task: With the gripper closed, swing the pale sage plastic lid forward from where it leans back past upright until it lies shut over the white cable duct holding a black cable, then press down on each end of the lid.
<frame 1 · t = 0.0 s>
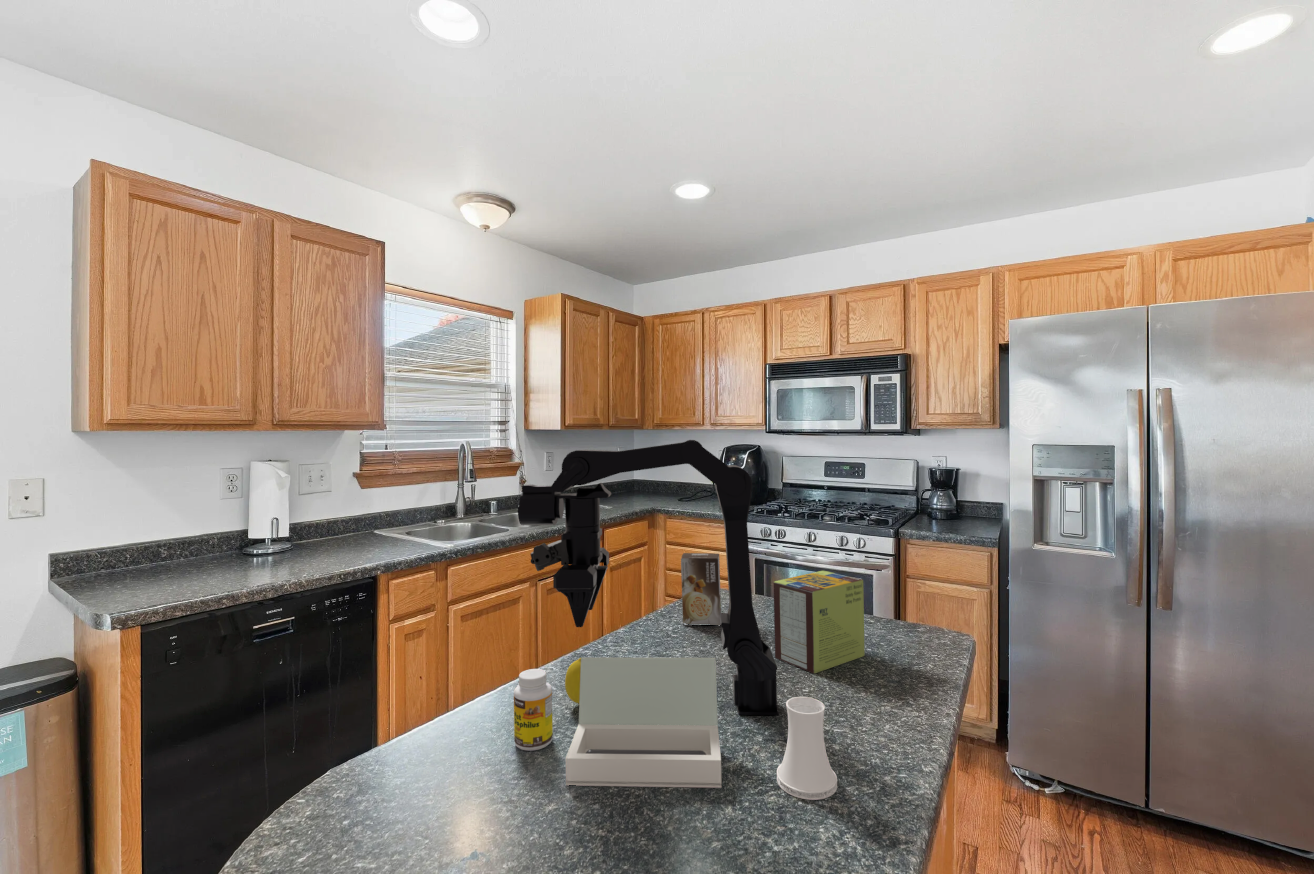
hand: (584, 617, 99), 15 cm above the countertop, tool pointing down, fingers open, 9 cm apart
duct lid: (648, 690, 87), point 8 cm above the countertop, hinge at 108.0°
cable duct: (645, 766, 80), on the countertop
supplement bottle: (533, 744, 87), on the countertop
lemon: (582, 706, 99), on the countertop
coffee box: (702, 622, 142), on the countertop
vase: (806, 783, 76), on the countertop
protein box: (819, 658, 118), on the countertop
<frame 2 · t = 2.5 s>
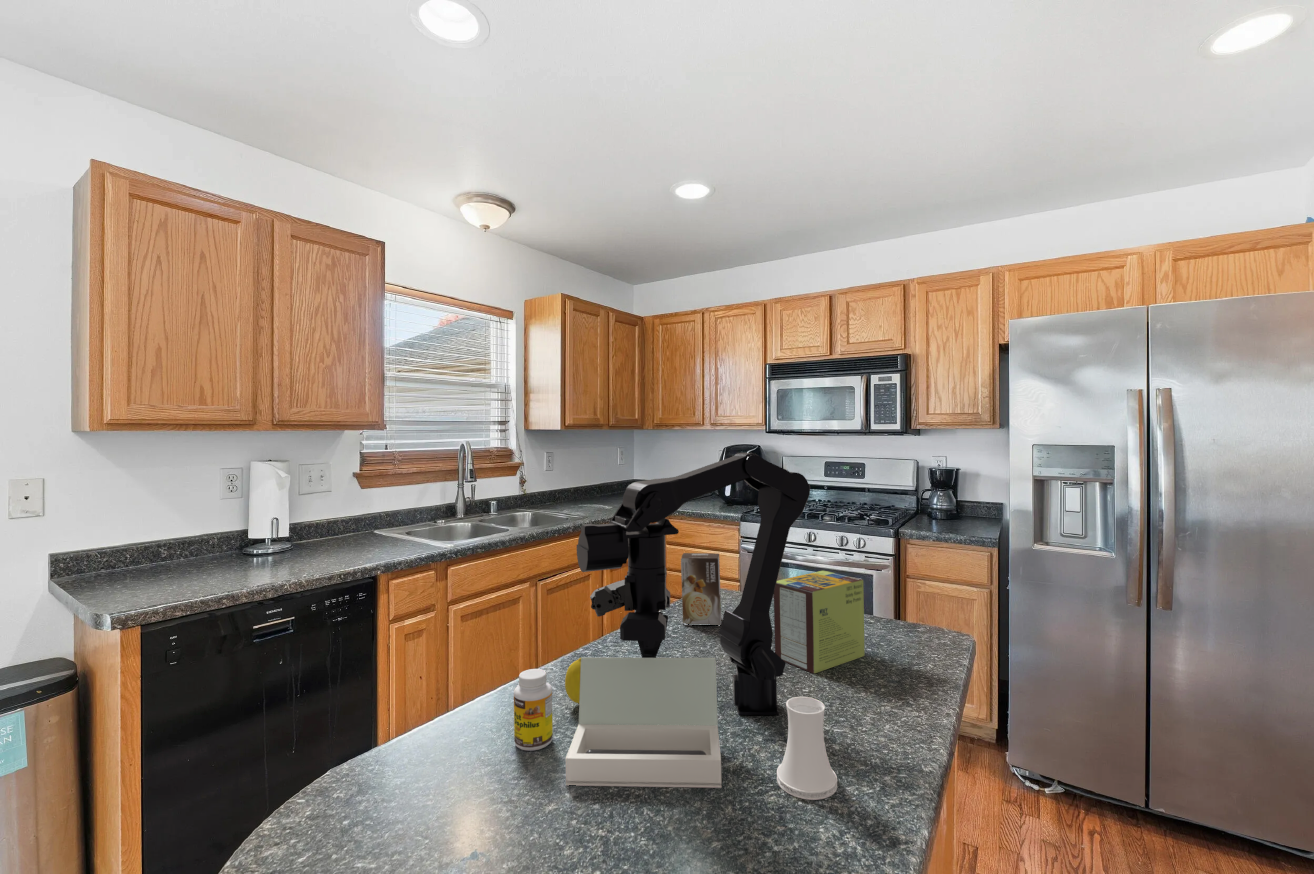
hand: (648, 667, 90), 10 cm above the countertop, tool pointing down, fingers closed
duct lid: (648, 690, 87), point 8 cm above the countertop, hinge at 108.0°, touching gripper
everything else where it was.
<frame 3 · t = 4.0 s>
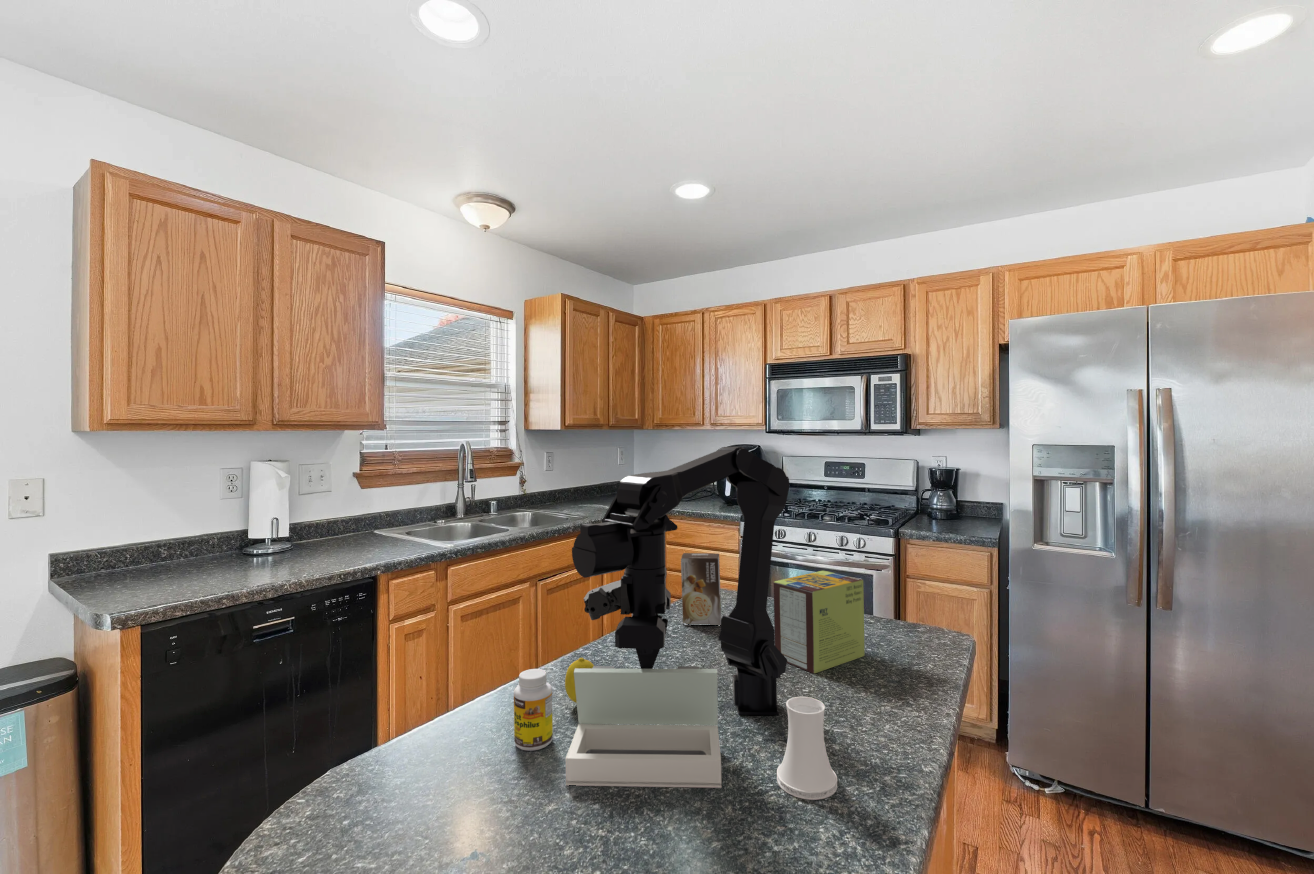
hand: (646, 674, 83), 11 cm above the countertop, tool pointing down, fingers closed, pressing on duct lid
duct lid: (646, 695, 84), point 8 cm above the countertop, hinge at 71.9°, touching gripper
everything else where it was.
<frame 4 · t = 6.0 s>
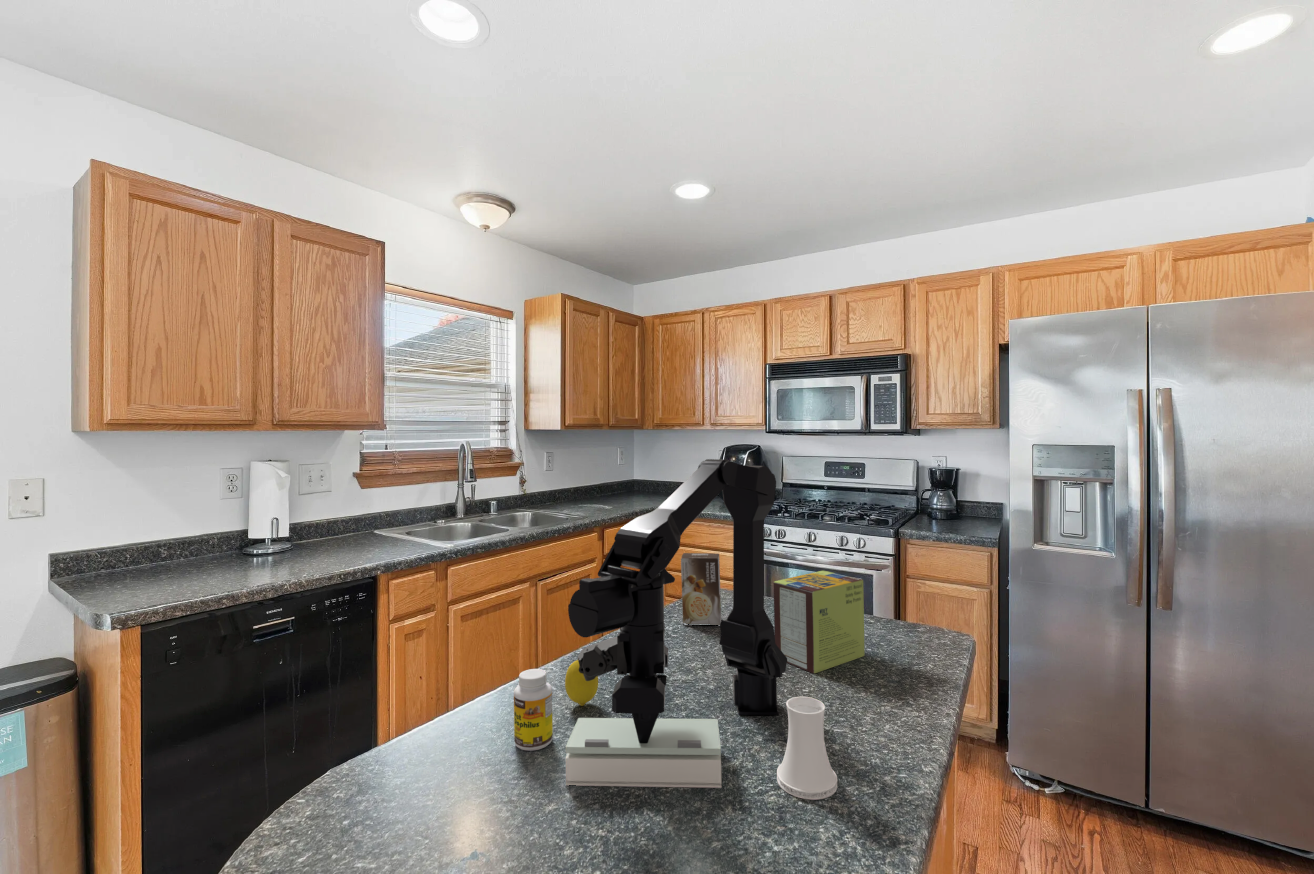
hand: (643, 739, 78), 5 cm above the countertop, tool pointing down, fingers closed on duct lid
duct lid: (645, 732, 80), point 5 cm above the countertop, hinge at 3.5°, touching gripper
everything else where it was.
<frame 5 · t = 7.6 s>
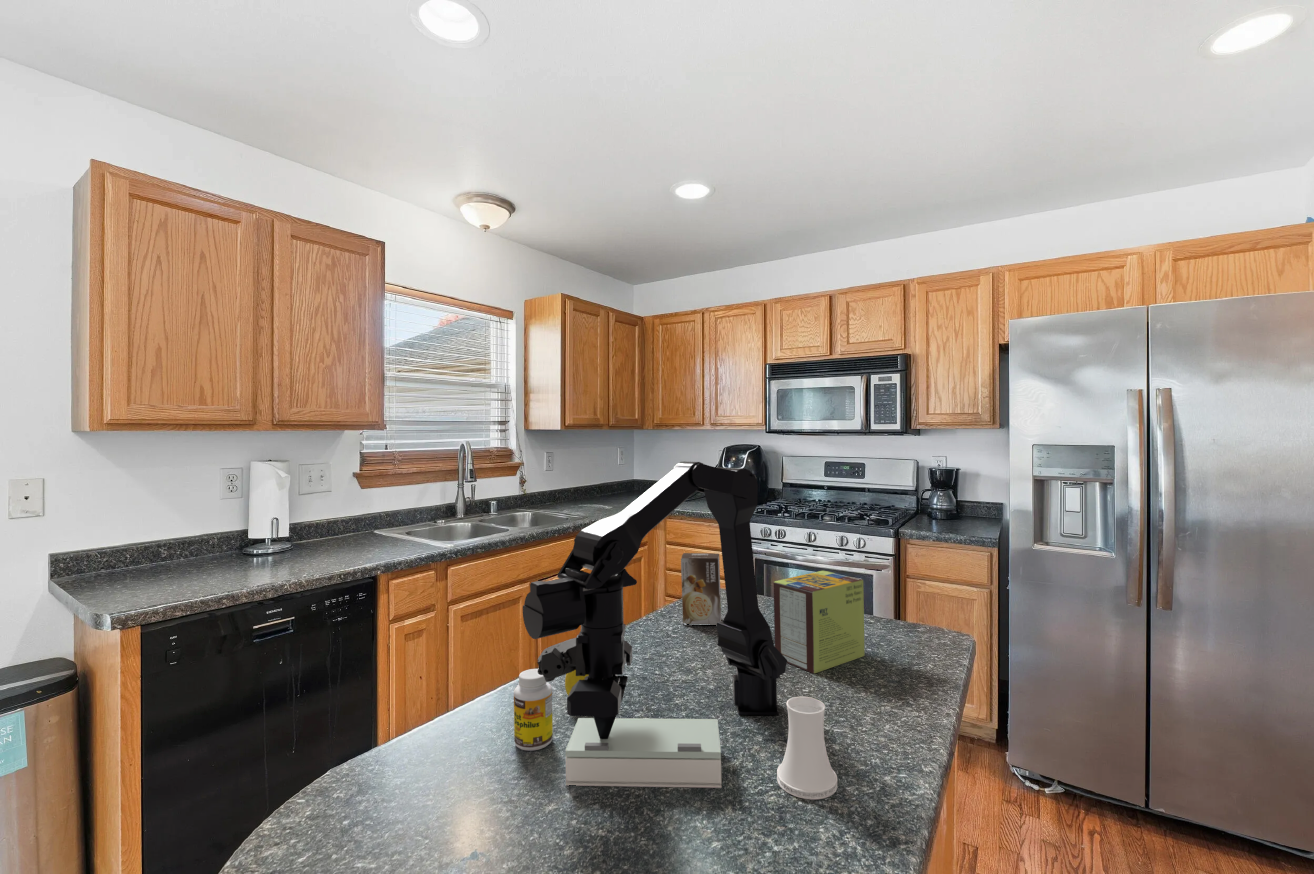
hand: (604, 737, 79), 4 cm above the countertop, tool pointing down, fingers closed, pressing on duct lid
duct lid: (645, 734, 80), point 4 cm above the countertop, hinge at 0.7°, touching gripper
everything else where it was.
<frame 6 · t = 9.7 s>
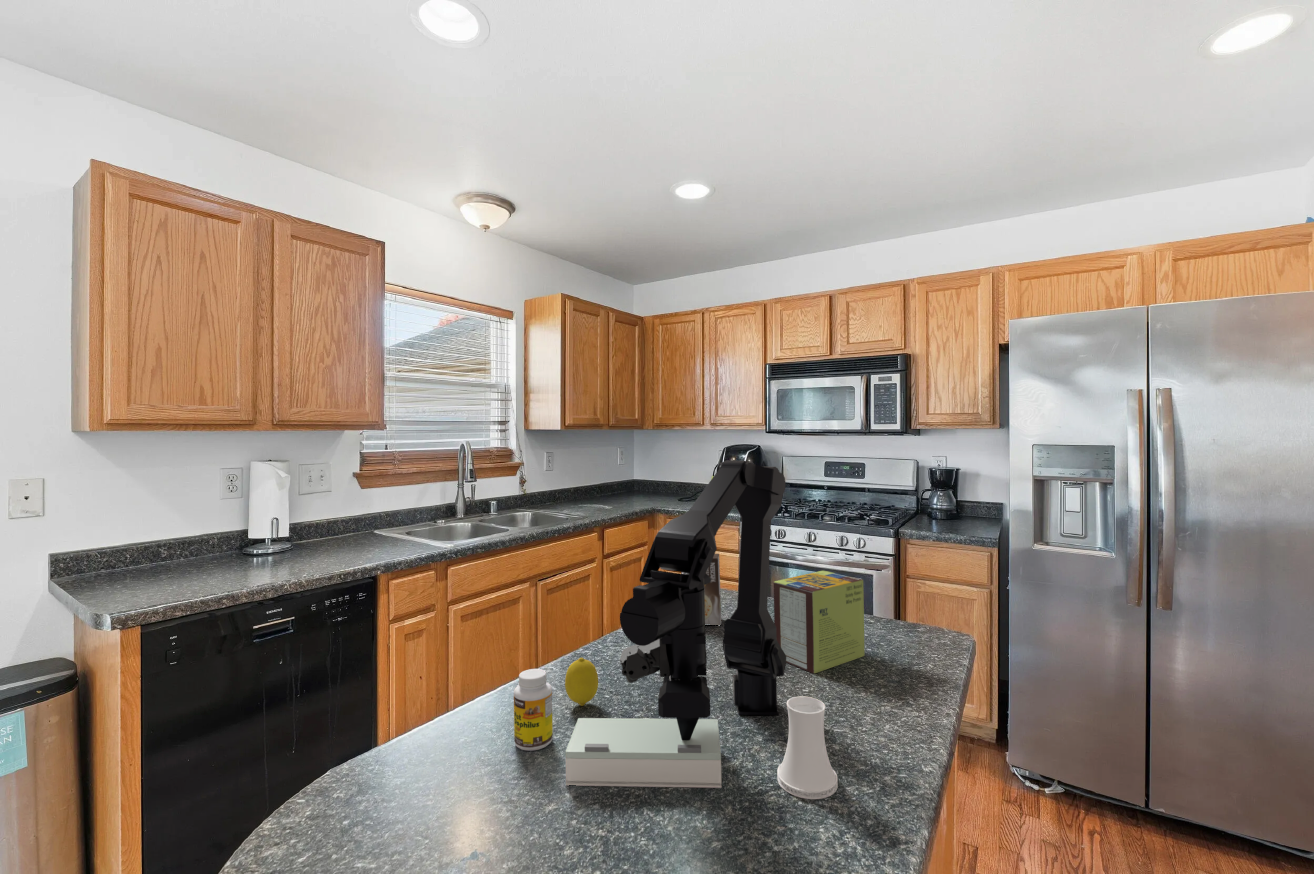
hand: (685, 739, 79), 4 cm above the countertop, tool pointing down, fingers closed, pressing on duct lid
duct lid: (645, 735, 80), point 4 cm above the countertop, hinge at -0.3°, touching gripper
everything else where it was.
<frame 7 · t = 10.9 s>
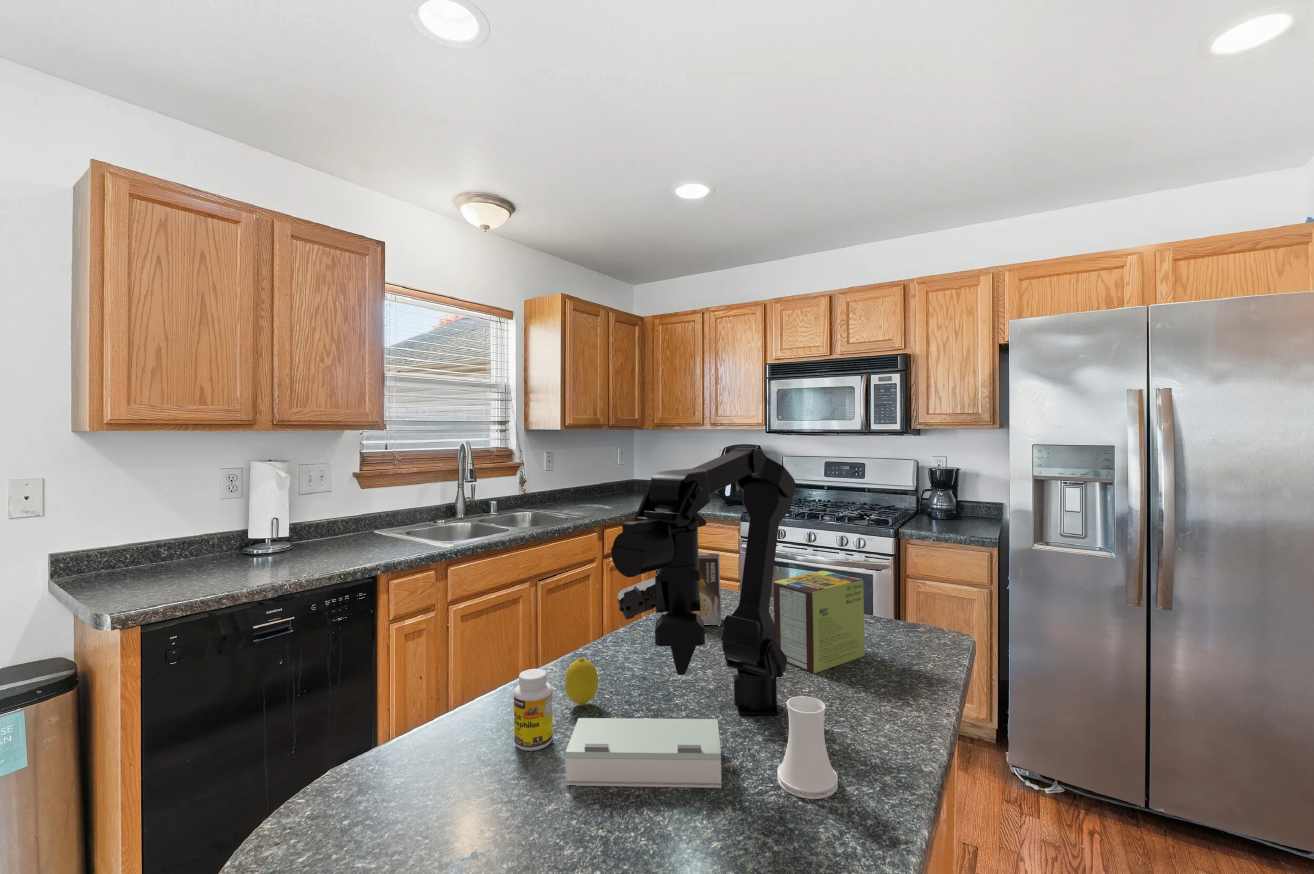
hand: (681, 673, 82), 12 cm above the countertop, tool pointing down, fingers closed
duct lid: (645, 735, 80), point 4 cm above the countertop, hinge at -0.3°
everything else where it was.
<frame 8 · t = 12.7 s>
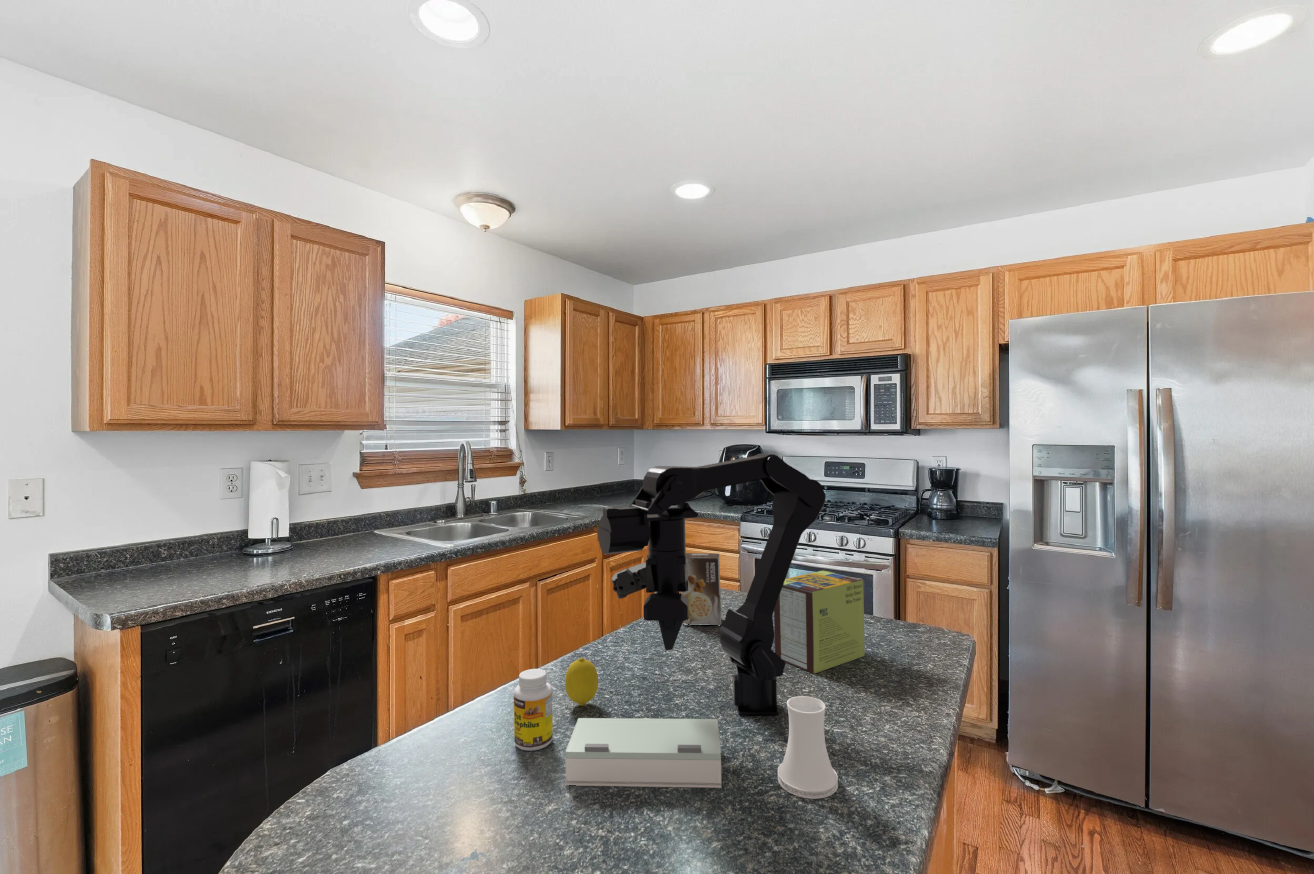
hand: (668, 649, 91), 12 cm above the countertop, tool pointing down, fingers closed
nothing on the countertop moved.
at the end: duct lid at +0° (first picture: +108°) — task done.
